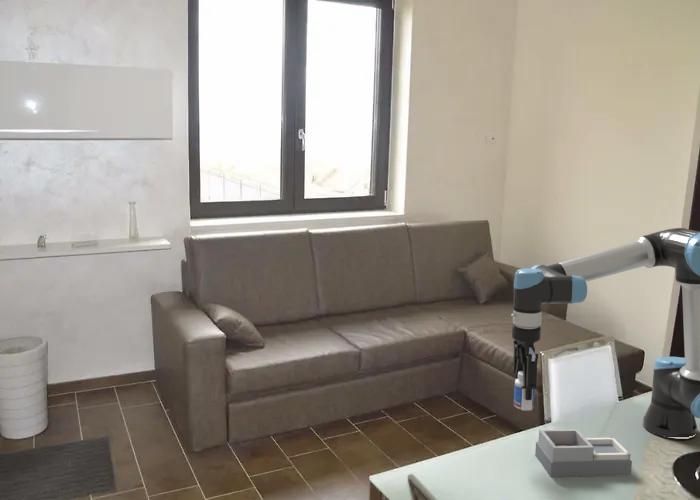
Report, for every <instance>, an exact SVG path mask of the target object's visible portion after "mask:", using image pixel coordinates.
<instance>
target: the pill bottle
mask: <svg viewBox="0 0 700 500" xmlns="http://www.w3.org/2000/svg"><path fill="white" fill-rule="evenodd" d="M515 379H516V378H515ZM521 386H524V379H523V371H519V372H518V379H516V380H515V381H514V391H513V393H514V395H513V406H514V407H515V409H516V408H517V409H518V410H521V406H522V388H521ZM535 390H536V389H533V397H532V409H534V405H535Z"/></svg>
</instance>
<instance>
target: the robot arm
mask: <svg viewBox="0 0 700 500" xmlns="http://www.w3.org/2000/svg"><path fill="white" fill-rule="evenodd" d="M642 267H645V268H647V269H651V268H655V267H671V268H674V270H675V273H674V274H675V282H676V283H678V285H680V286H681V292H682V296H681V297H682V316H683V317H682V318H683V319H682V320H683V342H684V343H683V345H684V347H683V348H684V357H679V356H661V357H658V358H656V360H654V366H653V369H652V370H653V374H652V375H653V376H652V388H651V398H650V399H651V400H650V403H649V406H648V407H647V410H646V412H645V414H644V416H643V419H642V420H643V421H642V426H643V428H644V429H645V430H646V431H648V432H650V433H651V434H653V433H654V434H653V435H655V434H657V435H656V436H658V435H661V436H665V437H689V436H693V435H695V434H696V433H697V434H698V425H697V421H696V418H697V419H700V231H699V230H694V229H693V230H692V229H689V228H688V229H687V228H682V227H675V228H673V227H672V228H667V229H664V230H660V231H656V232H653V233H649V234H646V235H642V236H638V237H637V238H636V240H635V241H633V242H630V243H626V244H622V245H619V246H615V247H611V248H608V249H604V250H601V251H596V252H594V253H590V254H586V255H584V256H580V257H576V258H571V259H569V260H565V261H561V262H557V263H553V264H549V265H545V264H535V265H533V266H532V267H531V268H528V267H527V268H526V267H525V268H519V269H517V270H516V272H515V274H514V279H513V307H512V308H513V309H512V311H513V312H512V313H511V314H510V315H511V318H512V323H513V325H512V327H511V328H512V330H511V331H512V332H511V338H512V339H513V363H512V374H514V379H515V380H516V379H518V372H519V371H523V379H524V386H521V388H522V406H521V409H520V410H521V411H522V412H523V411H532V410H533V408H532V397H533V389H535V390H536V389H537V384H538V383H537V376H538V360H539V353H536V350H535V349H536V348H535V345H534V344H535V343H536V342H539V341H540V340H541V330H542V328H541V327H540V326H542V317H543V316H542V314H543V312H542V311H543V309H542V308H543V305H554V304H555V305H556V304H558V305H560V304H570V305H571V304H572V305H573V304H582V303H583V302H585V300H586V298H587V295H588V284H587V282H590V281H595V280H598V279H601V278H606V277H609V276H612V275H617V274H620V273H623V272H624V273H625V272H627V271H631V270H634V269H638V268H639V269H640V268H642ZM661 436H660V437H661ZM665 437H664V438H665Z"/></svg>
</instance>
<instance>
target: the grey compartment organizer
mask: <svg viewBox="0 0 700 500" xmlns="http://www.w3.org/2000/svg"><path fill="white" fill-rule="evenodd" d="M559 445H566V446H559ZM534 454H535V457H536V458H537V460H538V461H539V463H540V464H541V466H542V467H543V468H544V470H545V471H546V472H547V474H548V475H549V477H551V478H553V477H554V478H556V477H557V478H558V477H559V478H560V477H561V478H562V477H563V478H564V477H604V476H605V477H609V476H610V477H611V476H612V477H613V476H632V464H633V462H632V460H631V456H632V455H631V453H630V452H628V450H627V449H626V448H625V447H624V446H623V445H621V443H619V441H617V440H616V438H614V437H585V436H584V435H583V434H582V433H581V431H580V430H579V429H578V428H568V429H567V428H566V429H565V428H563V429H560V428H559V429H552V428H551V429H538V441H536V442H535V453H534Z"/></svg>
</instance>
